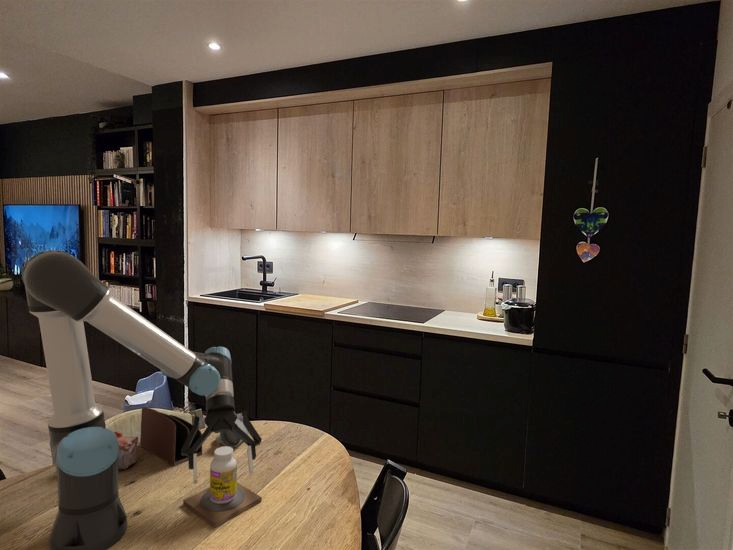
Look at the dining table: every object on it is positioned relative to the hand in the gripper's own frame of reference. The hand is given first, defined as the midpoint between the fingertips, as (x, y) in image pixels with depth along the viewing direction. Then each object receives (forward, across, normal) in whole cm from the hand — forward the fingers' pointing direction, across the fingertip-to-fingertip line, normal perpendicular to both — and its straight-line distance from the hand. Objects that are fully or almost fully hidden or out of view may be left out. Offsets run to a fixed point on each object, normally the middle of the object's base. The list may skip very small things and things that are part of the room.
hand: (223, 477), depth 114 cm
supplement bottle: (+3, 0, -7) cm, 7 cm away
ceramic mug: (-20, -6, -32) cm, 38 cm away
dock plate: (+4, 0, -8) cm, 9 cm away
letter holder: (-20, +13, -32) cm, 40 cm away
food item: (-16, +29, -29) cm, 44 cm away
